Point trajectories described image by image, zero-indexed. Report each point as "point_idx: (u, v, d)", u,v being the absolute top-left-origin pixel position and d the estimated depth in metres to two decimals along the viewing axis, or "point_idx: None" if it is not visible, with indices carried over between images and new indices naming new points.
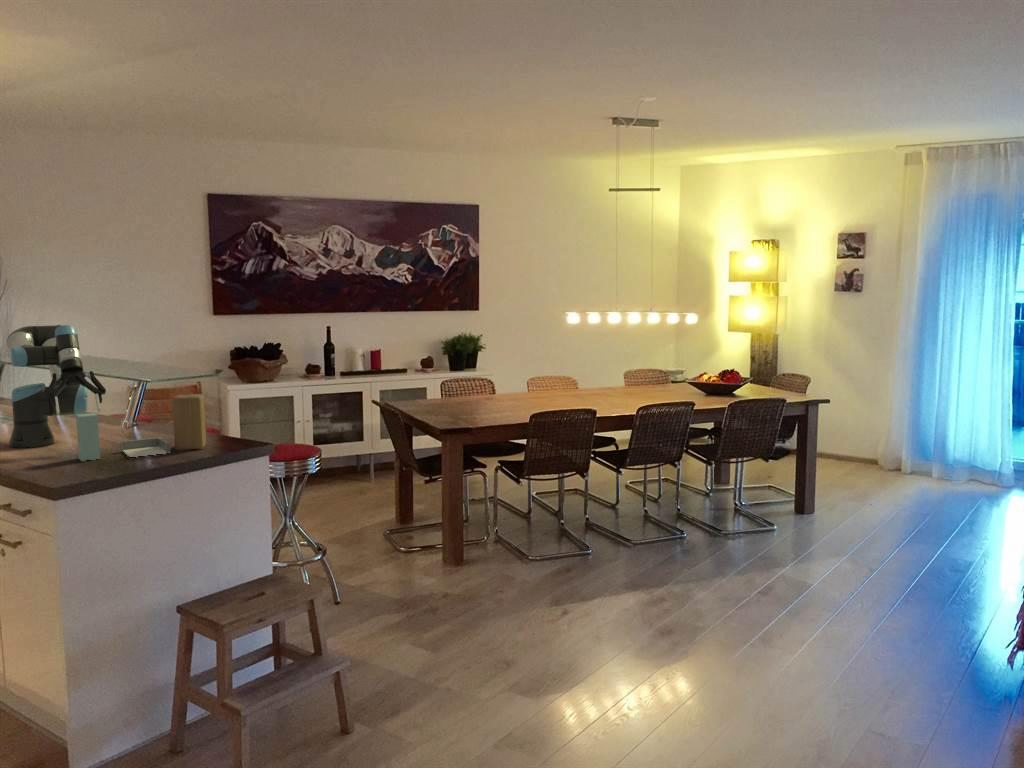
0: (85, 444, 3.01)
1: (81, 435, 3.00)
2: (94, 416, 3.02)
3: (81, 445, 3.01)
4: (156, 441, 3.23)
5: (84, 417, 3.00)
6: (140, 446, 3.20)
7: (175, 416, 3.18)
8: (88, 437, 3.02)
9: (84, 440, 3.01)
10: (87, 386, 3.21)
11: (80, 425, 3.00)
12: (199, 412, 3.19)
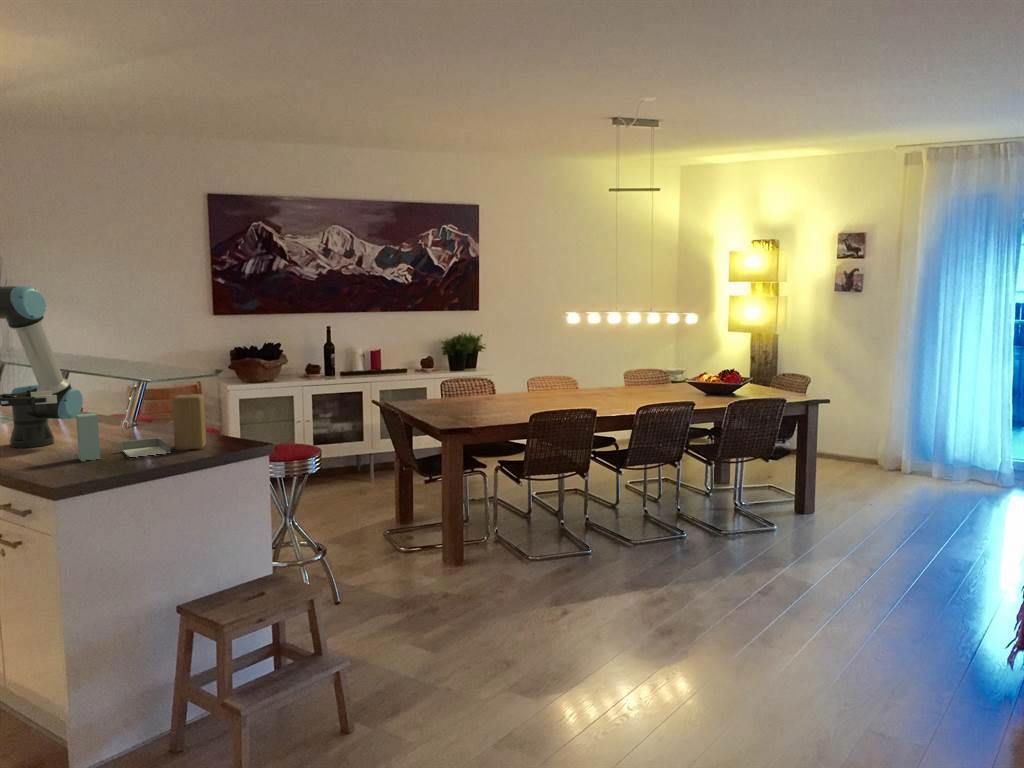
0: (85, 444, 3.01)
1: (81, 435, 3.00)
2: (94, 416, 3.02)
3: (81, 445, 3.01)
4: (156, 441, 3.23)
5: (84, 417, 3.00)
6: (140, 446, 3.20)
7: (175, 416, 3.18)
8: (88, 437, 3.02)
9: (84, 440, 3.01)
10: None
11: (80, 425, 3.00)
12: (199, 412, 3.19)
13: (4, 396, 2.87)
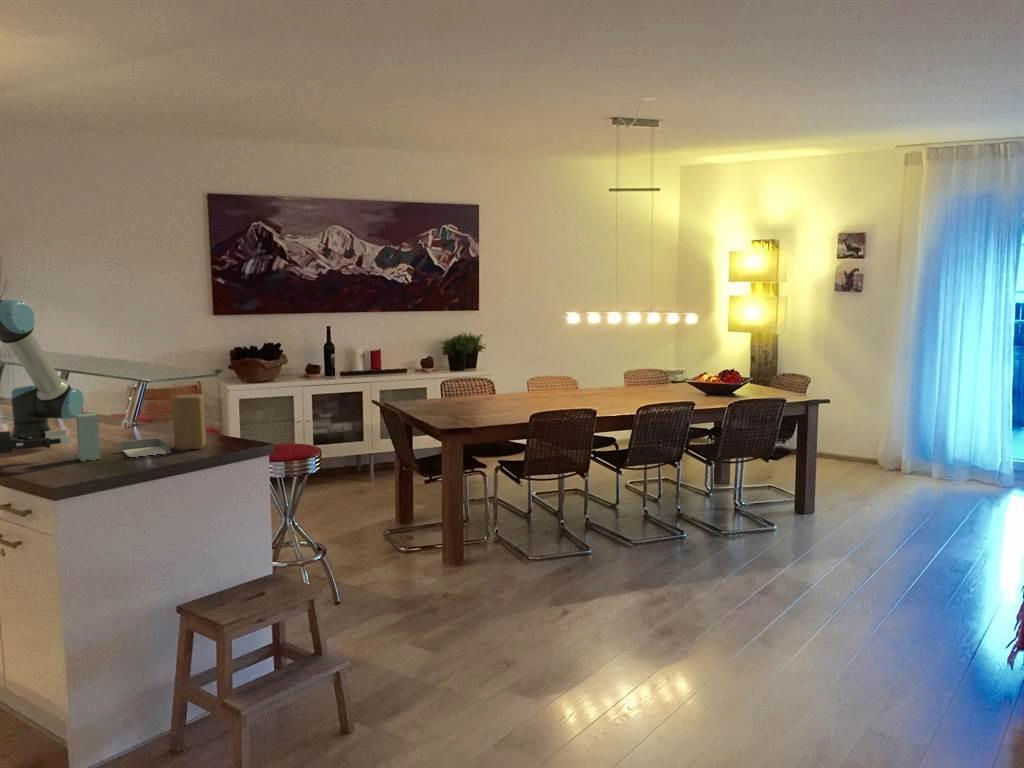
0: (85, 444, 3.01)
1: (81, 435, 3.00)
2: (94, 416, 3.02)
3: (81, 445, 3.01)
4: (156, 441, 3.23)
5: (84, 417, 3.00)
6: (140, 446, 3.20)
7: (175, 416, 3.18)
8: (88, 437, 3.02)
9: (84, 440, 3.01)
10: None
11: (80, 425, 3.00)
12: (199, 412, 3.19)
13: (20, 437, 2.90)
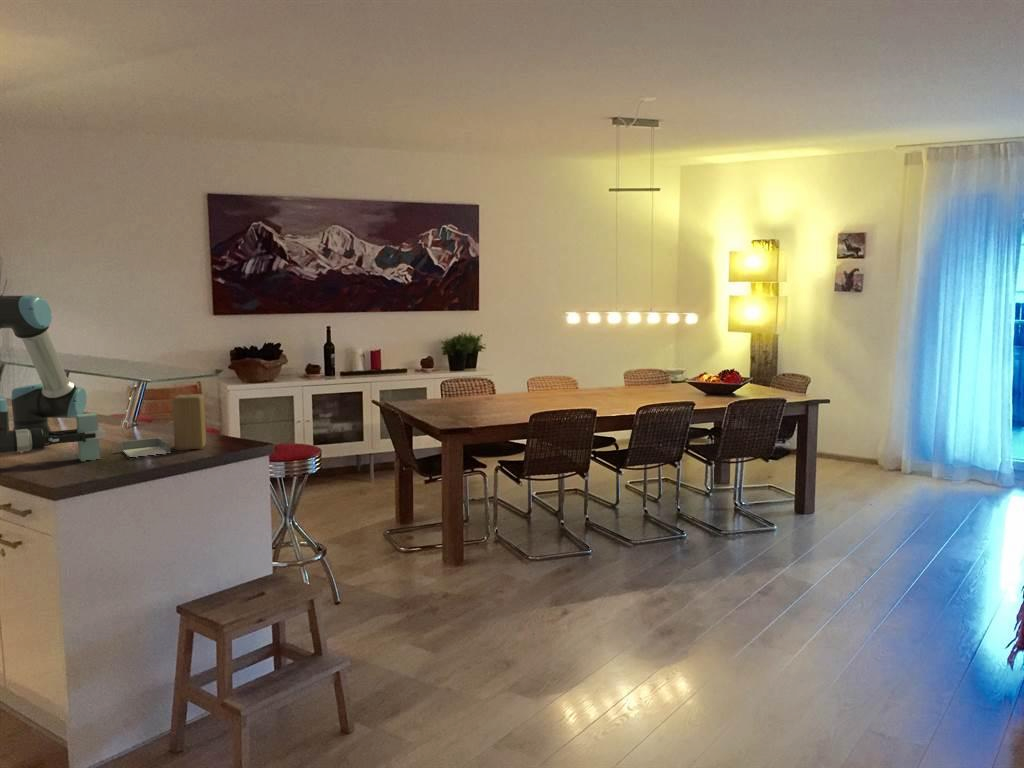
0: (85, 444, 3.01)
1: None
2: (94, 416, 3.02)
3: (81, 445, 3.01)
4: (156, 441, 3.23)
5: (84, 417, 3.00)
6: (140, 446, 3.20)
7: (175, 416, 3.18)
8: None
9: None
10: None
11: (80, 425, 3.00)
12: (199, 412, 3.19)
13: (52, 434, 2.96)
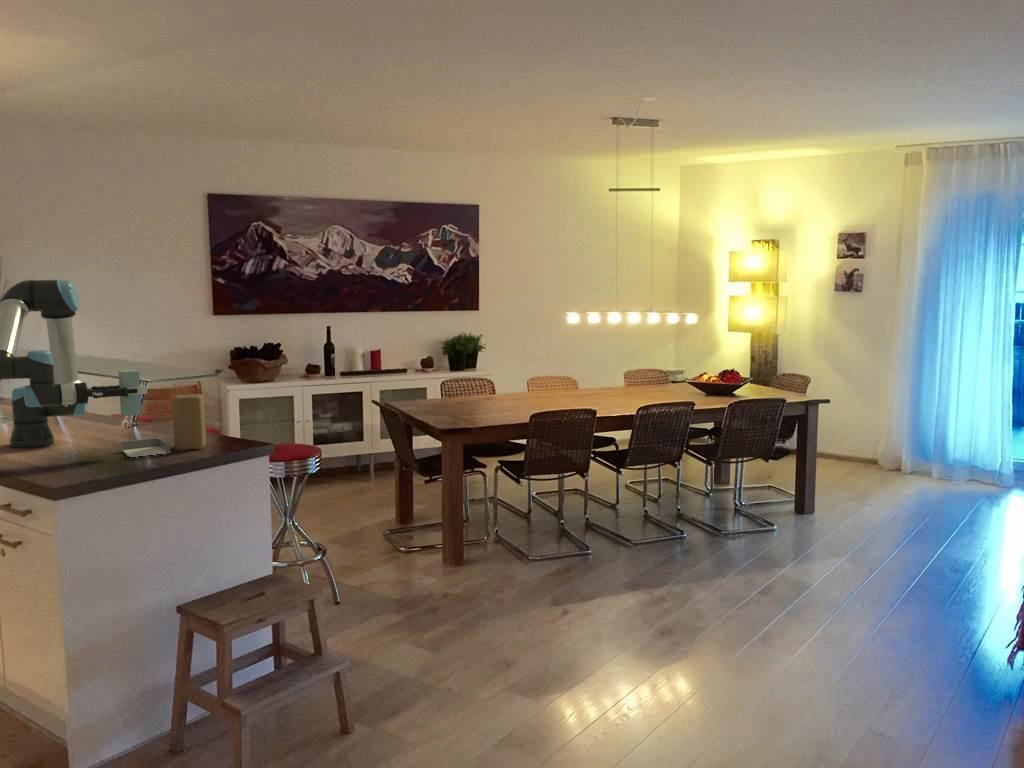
0: (127, 400, 3.07)
1: None
2: (136, 372, 3.08)
3: (123, 400, 3.06)
4: (156, 441, 3.23)
5: (126, 372, 3.06)
6: (140, 446, 3.20)
7: (175, 416, 3.18)
8: None
9: None
10: None
11: (122, 380, 3.05)
12: (199, 412, 3.19)
13: (96, 388, 3.02)
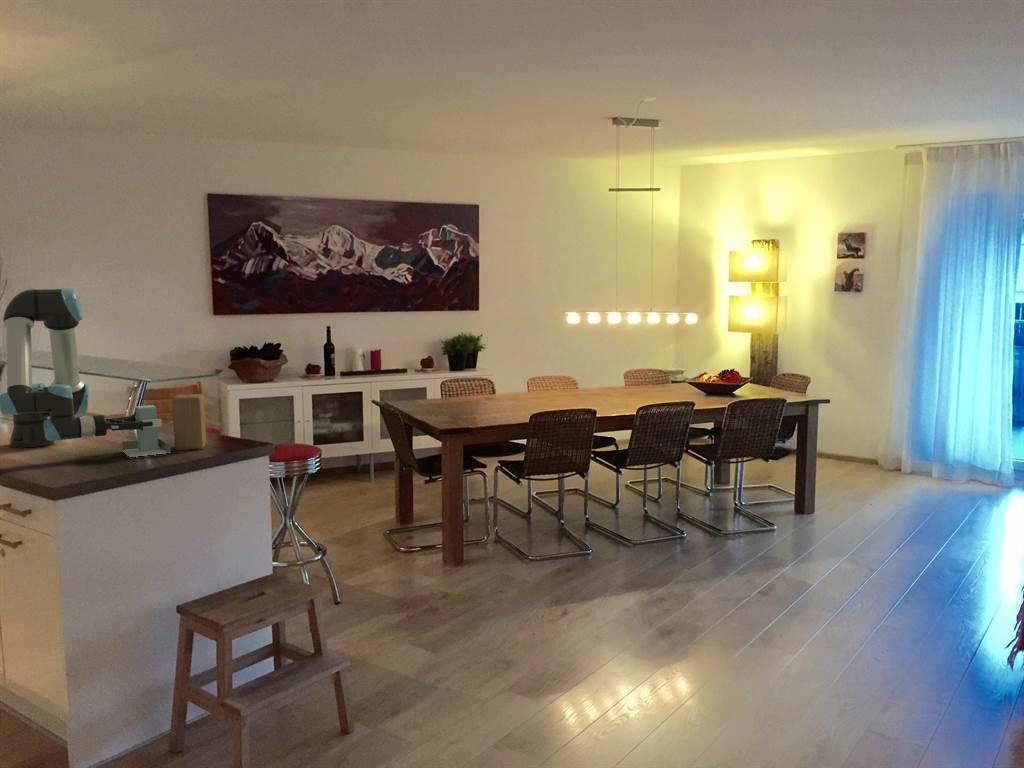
0: (145, 435, 3.13)
1: None
2: (153, 408, 3.14)
3: (141, 436, 3.13)
4: None
5: (144, 409, 3.12)
6: None
7: (175, 416, 3.18)
8: (148, 428, 3.14)
9: (144, 431, 3.13)
10: None
11: (140, 416, 3.12)
12: (199, 412, 3.19)
13: (113, 421, 3.08)
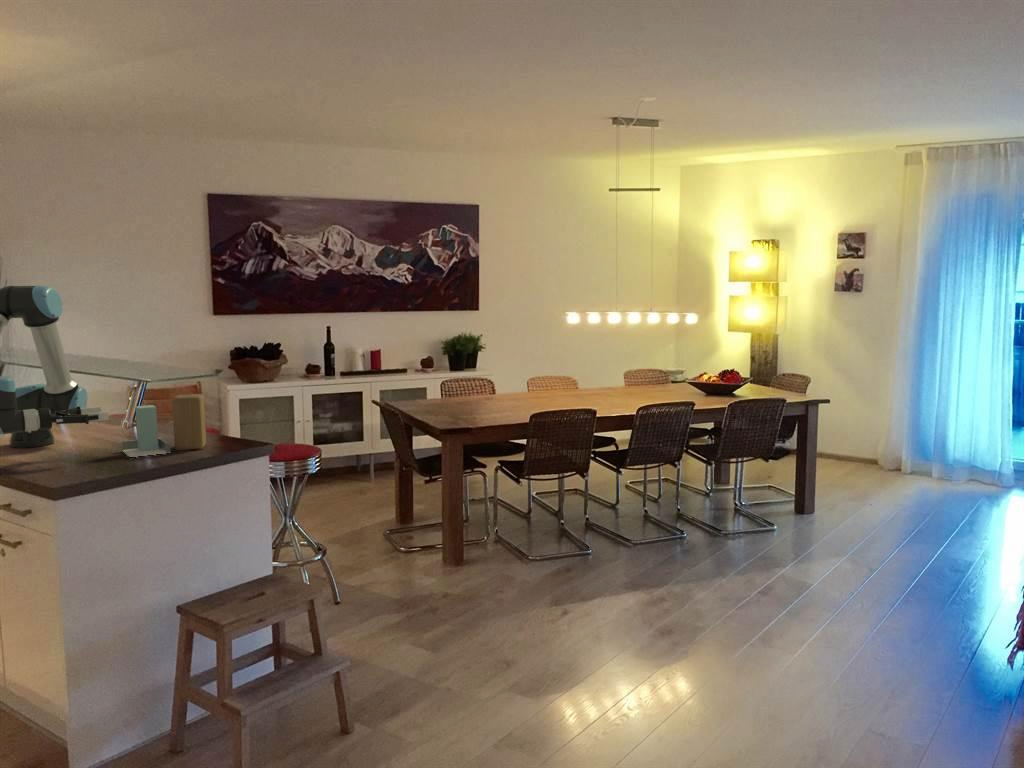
0: (145, 435, 3.13)
1: (141, 426, 3.12)
2: (153, 408, 3.14)
3: (141, 436, 3.13)
4: None
5: (144, 409, 3.12)
6: None
7: (175, 416, 3.18)
8: (148, 428, 3.14)
9: (144, 431, 3.13)
10: None
11: (140, 416, 3.12)
12: (199, 412, 3.19)
13: (58, 414, 2.98)
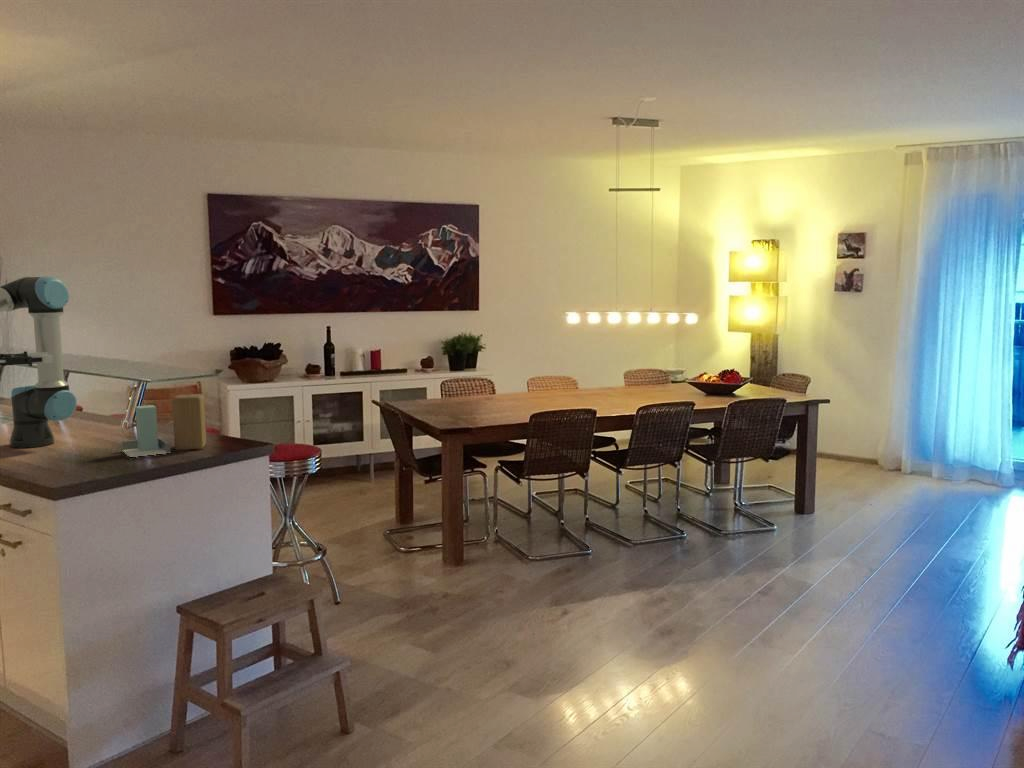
0: (145, 435, 3.13)
1: (141, 426, 3.12)
2: (153, 408, 3.14)
3: (141, 436, 3.13)
4: None
5: (144, 409, 3.12)
6: None
7: (175, 416, 3.18)
8: (148, 428, 3.14)
9: (144, 431, 3.13)
10: None
11: (140, 416, 3.12)
12: (199, 412, 3.19)
13: (2, 356, 2.97)
